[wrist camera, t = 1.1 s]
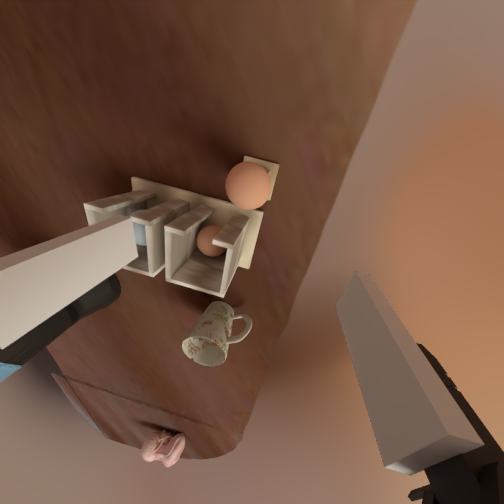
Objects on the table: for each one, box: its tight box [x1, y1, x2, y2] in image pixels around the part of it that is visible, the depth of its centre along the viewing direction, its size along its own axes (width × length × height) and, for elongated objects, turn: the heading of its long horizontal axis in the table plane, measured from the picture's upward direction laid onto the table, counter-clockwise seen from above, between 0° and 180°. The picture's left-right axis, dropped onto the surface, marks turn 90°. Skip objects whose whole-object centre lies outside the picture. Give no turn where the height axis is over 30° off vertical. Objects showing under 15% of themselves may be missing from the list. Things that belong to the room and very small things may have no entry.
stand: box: [243, 156, 280, 200], centre depth 25 cm, size 5×5×5 cm
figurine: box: [141, 429, 185, 467], centre depth 81 cm, size 11×12×18 cm
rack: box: [83, 177, 264, 298], centre depth 28 cm, size 22×11×11 cm, turn 78°
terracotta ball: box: [226, 162, 271, 210], centre depth 20 cm, size 5×5×5 cm
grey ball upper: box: [128, 210, 147, 246], centre depth 25 cm, size 5×5×5 cm
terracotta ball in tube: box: [197, 226, 227, 257], centre depth 29 cm, size 5×5×5 cm
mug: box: [182, 301, 252, 366], centre depth 36 cm, size 8×13×10 cm, turn 112°
